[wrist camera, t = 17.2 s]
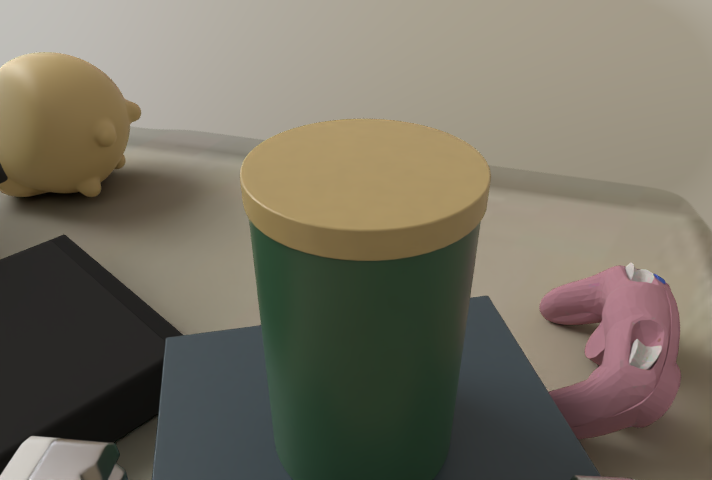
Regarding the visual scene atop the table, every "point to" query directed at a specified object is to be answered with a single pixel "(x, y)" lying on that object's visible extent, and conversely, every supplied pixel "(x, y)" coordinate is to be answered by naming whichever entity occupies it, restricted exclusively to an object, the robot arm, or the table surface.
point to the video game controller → (619, 349)
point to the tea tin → (363, 291)
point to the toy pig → (60, 125)
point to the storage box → (255, 429)
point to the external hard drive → (74, 349)
